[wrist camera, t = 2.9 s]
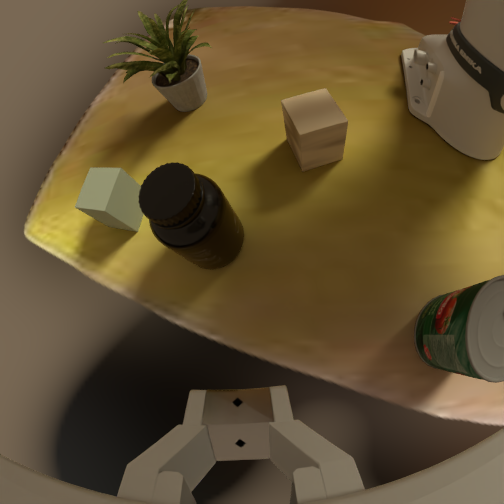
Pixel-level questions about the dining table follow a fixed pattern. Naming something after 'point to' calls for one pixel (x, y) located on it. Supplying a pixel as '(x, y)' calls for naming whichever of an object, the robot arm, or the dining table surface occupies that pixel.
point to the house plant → (169, 61)
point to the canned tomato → (465, 331)
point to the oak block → (314, 128)
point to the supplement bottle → (191, 216)
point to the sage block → (111, 198)
